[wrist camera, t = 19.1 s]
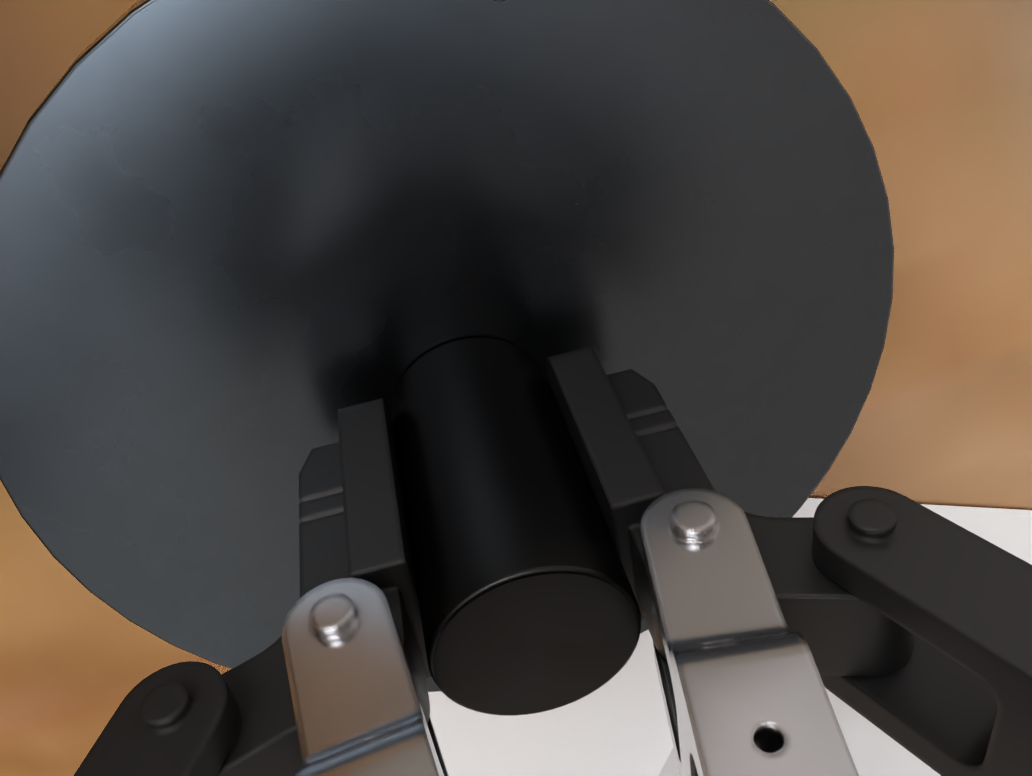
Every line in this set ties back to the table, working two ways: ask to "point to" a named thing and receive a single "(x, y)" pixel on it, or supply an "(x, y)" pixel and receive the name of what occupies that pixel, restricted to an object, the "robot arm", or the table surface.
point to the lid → (425, 299)
